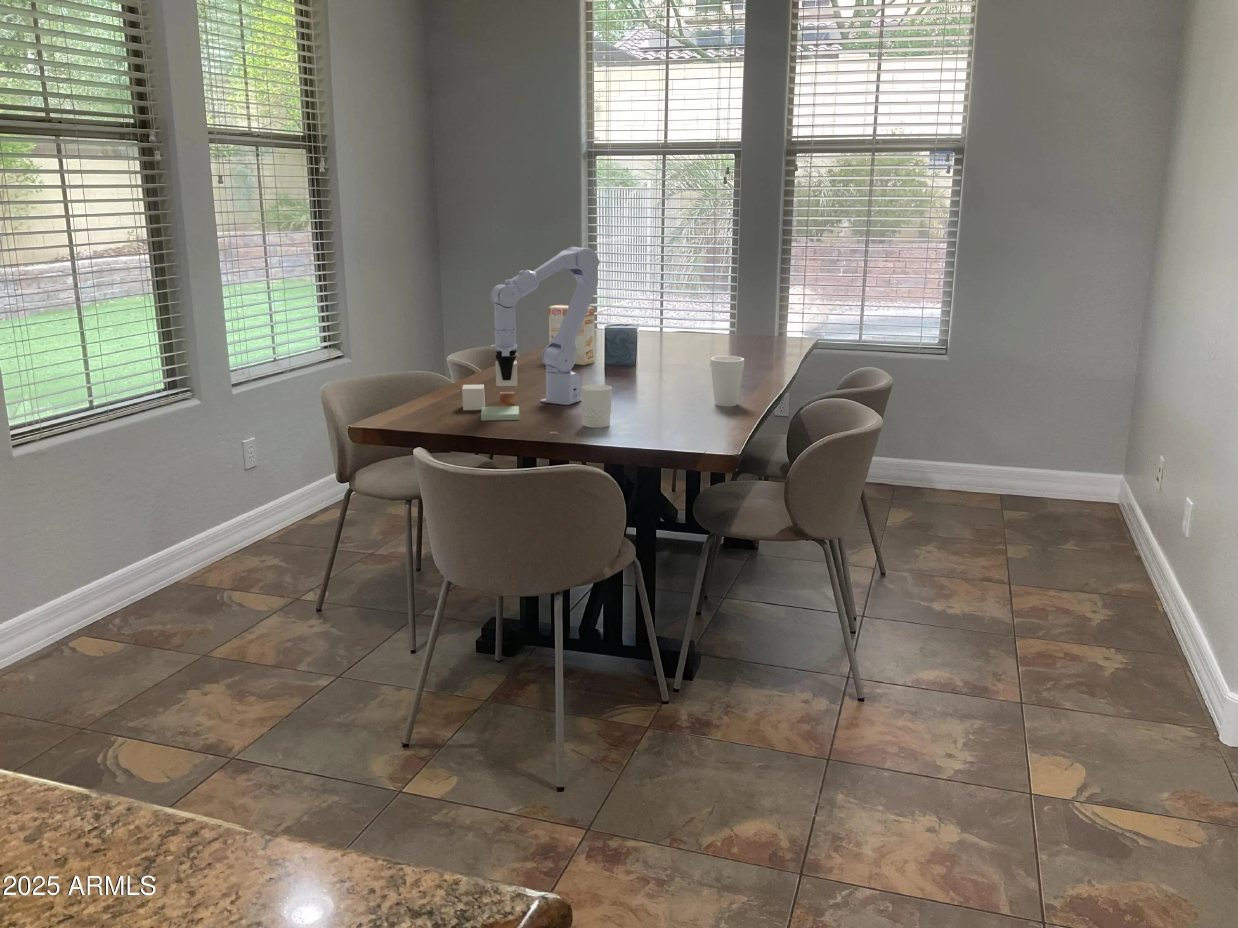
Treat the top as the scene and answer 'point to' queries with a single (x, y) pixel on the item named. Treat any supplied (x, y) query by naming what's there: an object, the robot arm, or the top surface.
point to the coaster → (500, 413)
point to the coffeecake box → (585, 334)
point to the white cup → (596, 405)
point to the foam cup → (726, 379)
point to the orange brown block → (507, 399)
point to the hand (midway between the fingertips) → (506, 378)
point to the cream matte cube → (506, 382)
